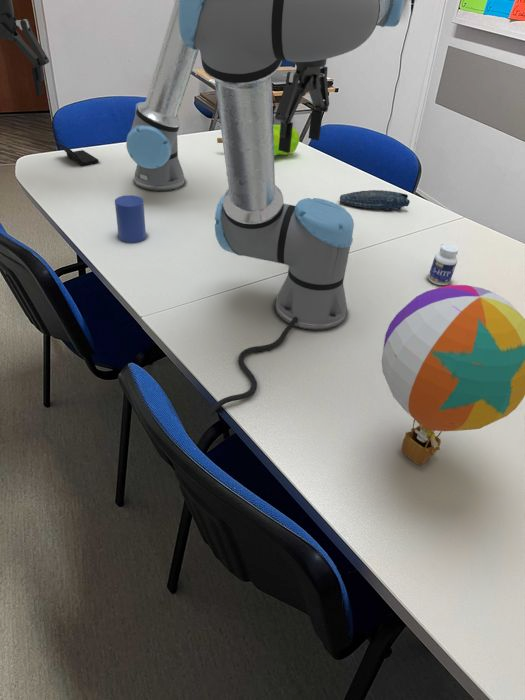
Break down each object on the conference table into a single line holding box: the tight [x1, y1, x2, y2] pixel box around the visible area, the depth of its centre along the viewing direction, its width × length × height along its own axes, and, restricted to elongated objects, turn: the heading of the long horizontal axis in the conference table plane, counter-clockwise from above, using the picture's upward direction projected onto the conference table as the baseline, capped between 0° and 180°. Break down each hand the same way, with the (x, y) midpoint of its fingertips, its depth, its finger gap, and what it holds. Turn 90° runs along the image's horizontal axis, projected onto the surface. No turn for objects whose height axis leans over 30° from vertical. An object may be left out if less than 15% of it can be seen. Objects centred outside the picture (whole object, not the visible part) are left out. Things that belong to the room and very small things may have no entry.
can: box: [114, 194, 147, 244], centre depth 130 cm, size 7×7×10 cm
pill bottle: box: [427, 243, 459, 286], centre depth 124 cm, size 5×5×9 cm
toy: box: [381, 284, 525, 467], centre depth 73 cm, size 20×20×30 cm
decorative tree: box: [216, 124, 300, 157], centre depth 186 cm, size 18×10×30 cm
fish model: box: [339, 189, 411, 211], centre depth 158 cm, size 7×21×5 cm, turn 84°
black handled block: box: [54, 140, 100, 166], centre depth 170 cm, size 12×7×10 cm
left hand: (13, 92), depth 133 cm, fingers open, 13 cm apart
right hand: (299, 145), depth 125 cm, fingers open, 13 cm apart
